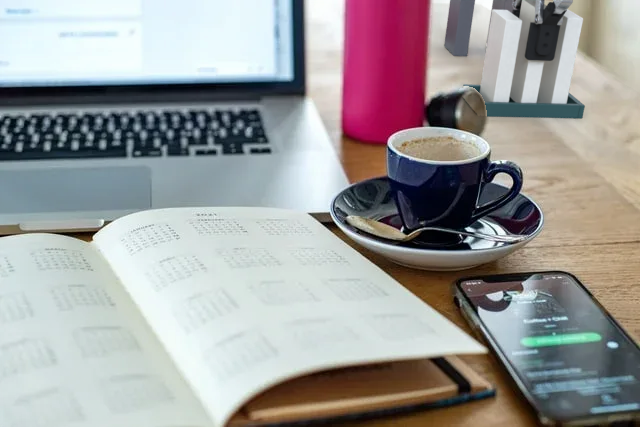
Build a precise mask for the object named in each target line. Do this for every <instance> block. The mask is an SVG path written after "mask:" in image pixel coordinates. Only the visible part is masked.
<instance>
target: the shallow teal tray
mask: <svg viewBox="0 0 640 427" xmlns="http://www.w3.org/2000/svg"><path fill="white" fill-rule="evenodd" d="M463 86H469V87H473V88H475V89H476V90H477V91H478V92H479V93H480V87H481V84H468V83H467V84H466V83H464V84H463V85H462V87H463ZM485 105H486V110H487V117H490V118H526V119H527V118H532V119H533V118H534V119H575V120H576V119H577V120H578V119H580V120H581V119H583V117H584V111H585V107H586V105H585V104H583V103H582V102H581V101H580V100H579V99H578V98H577V97H575V96H574V95H573V94H571V93H570V92H569V93H568V98H567V103H566V104H561V103H518V102H515V101H514V100H513V99H512V98H511V97H509V102H485ZM487 117H486V118H487Z"/></svg>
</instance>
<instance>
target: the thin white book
mask: <svg viewBox="0 0 640 427" xmlns="http://www.w3.org/2000/svg"><path fill="white" fill-rule="evenodd" d="M535 4H536V0H522V4H521V10H520V16H519V19H520V20H522V26H521V32H520V38H519V43H518V49H517V55H516V61H515V67H514V73H513V79H512V85H511V91H510V97H511V98H512V99H513V100H514V101H515V102H518V103H536V102H537V97H538V92H539V86H540V81H541V76H542V70H543V65H544V61H538V60H527V59H526V58H525V50H526V45H527V39H528V33H529V28H530V22H535V21H534V18H535ZM546 6H547V5H546V4H545V3H544V9H545V7H546Z"/></svg>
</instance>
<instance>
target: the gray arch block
mask: <svg viewBox="0 0 640 427" xmlns="http://www.w3.org/2000/svg"><path fill="white" fill-rule="evenodd" d="M475 5H476V0H449V6H448V14H447V22H446V29H445V36H444V45H443V47H444V48H445V49H446V50H447V51H449V53H450V54H451V55H452V57H453V56H454V57H455V56H456V57H468V52H469V46H470V39H471V34H472V32H471V31H472V25H473V20H474V18H473V17H474V13H475V12H474V11H475ZM493 9H495V10H508V11H509V12H511V13H512V11H513V10H517V9H513V0H492V5H491V10H490V16H489V22H490V21H491V15H492V10H493ZM489 28H490V23H489V24H488V31H487V35H488V34H489ZM487 41H488V36H487V38H486V42H487Z"/></svg>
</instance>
